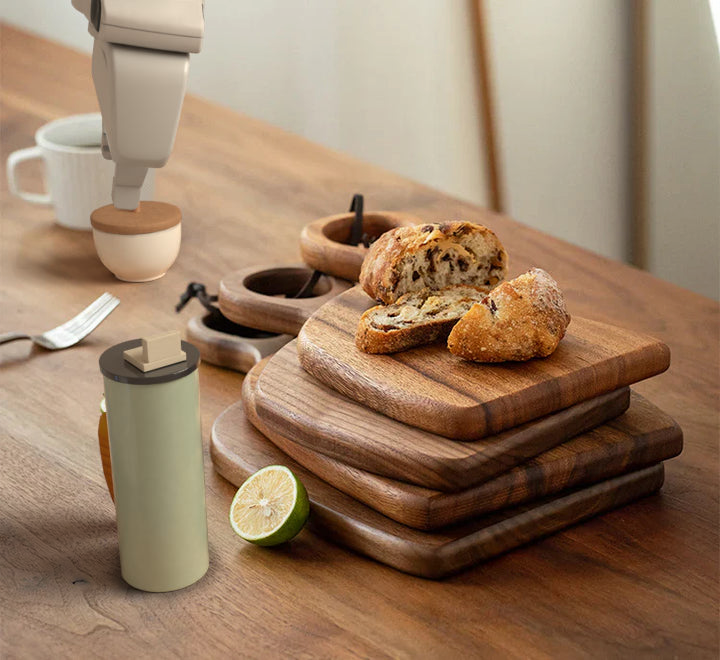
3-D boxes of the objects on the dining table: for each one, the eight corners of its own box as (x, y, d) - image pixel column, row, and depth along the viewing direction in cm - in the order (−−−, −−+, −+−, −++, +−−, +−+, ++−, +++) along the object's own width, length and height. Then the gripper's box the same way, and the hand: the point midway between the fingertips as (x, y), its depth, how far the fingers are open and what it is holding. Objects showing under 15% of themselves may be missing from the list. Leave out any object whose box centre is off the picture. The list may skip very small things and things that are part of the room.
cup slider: (144, 372, 79) (141, 342, 78) (123, 358, 81) (120, 329, 80) (186, 360, 81) (184, 330, 80) (165, 346, 83) (163, 317, 82)
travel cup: (147, 606, 84) (128, 386, 77) (102, 561, 90) (81, 352, 82) (229, 570, 89) (219, 359, 81) (181, 530, 94) (168, 328, 87)
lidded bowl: (166, 292, 148) (161, 214, 144) (80, 285, 150) (73, 208, 146) (197, 262, 159) (193, 190, 155) (117, 256, 162) (111, 185, 157)
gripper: (82, -49, 81) (66, 127, 87) (104, 20, 64) (82, 233, 70) (166, -35, 83) (145, 136, 89) (209, 35, 66) (179, 241, 72)
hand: (118, 180), depth 79 cm, fingers open, 8 cm apart
